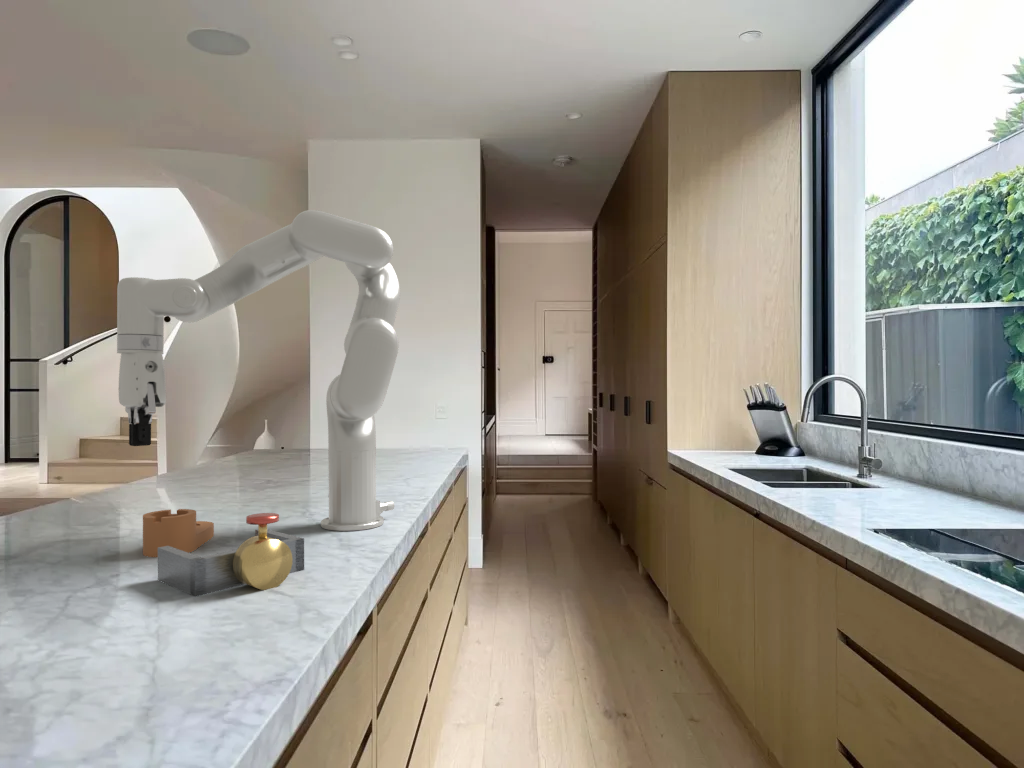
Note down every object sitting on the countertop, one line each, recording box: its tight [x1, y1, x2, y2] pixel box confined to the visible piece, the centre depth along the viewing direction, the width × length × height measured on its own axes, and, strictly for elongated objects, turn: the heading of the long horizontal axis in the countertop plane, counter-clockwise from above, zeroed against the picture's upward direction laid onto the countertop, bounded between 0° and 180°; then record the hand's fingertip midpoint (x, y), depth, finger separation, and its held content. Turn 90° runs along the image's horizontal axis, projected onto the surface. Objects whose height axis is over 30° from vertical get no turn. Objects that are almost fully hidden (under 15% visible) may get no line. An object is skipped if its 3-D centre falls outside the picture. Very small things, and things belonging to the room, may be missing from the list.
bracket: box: [142, 508, 215, 558], centre depth 123 cm, size 18×8×7 cm, turn 7°
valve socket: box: [157, 512, 305, 598], centre depth 101 cm, size 17×17×10 cm
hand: (140, 445), depth 124 cm, fingers closed
